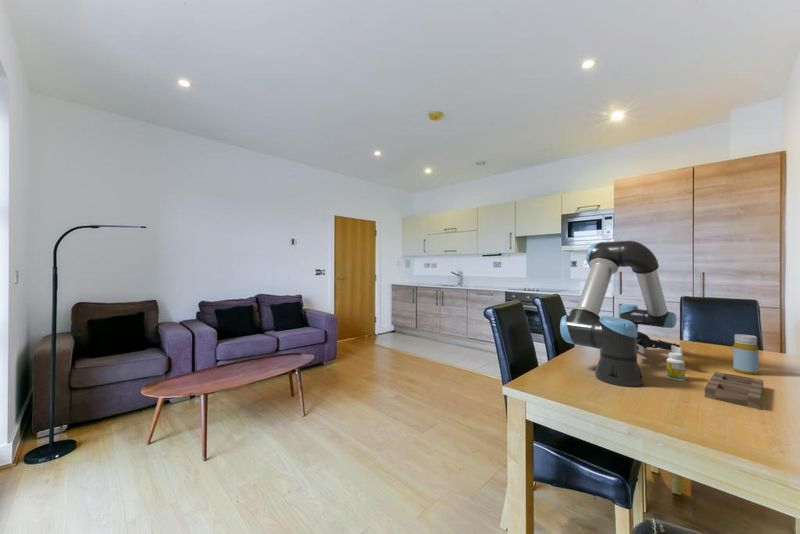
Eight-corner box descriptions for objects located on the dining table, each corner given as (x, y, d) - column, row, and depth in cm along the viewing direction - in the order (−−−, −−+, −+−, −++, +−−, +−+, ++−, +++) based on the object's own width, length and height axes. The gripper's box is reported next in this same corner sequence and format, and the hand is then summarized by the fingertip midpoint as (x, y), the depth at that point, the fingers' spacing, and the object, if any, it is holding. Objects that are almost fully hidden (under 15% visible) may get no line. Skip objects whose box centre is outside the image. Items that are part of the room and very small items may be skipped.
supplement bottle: (685, 382, 118) (685, 356, 118) (666, 378, 121) (666, 354, 121) (684, 378, 122) (684, 353, 122) (666, 375, 125) (666, 351, 125)
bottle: (746, 369, 132) (746, 334, 132) (764, 375, 125) (763, 337, 125) (728, 369, 132) (728, 333, 133) (744, 374, 126) (744, 337, 126)
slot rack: (759, 409, 95) (759, 399, 95) (704, 397, 104) (704, 387, 104) (763, 388, 111) (763, 380, 111) (715, 379, 120) (715, 371, 120)
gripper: (668, 348, 149) (698, 362, 128) (608, 346, 155) (627, 358, 134) (668, 332, 149) (697, 343, 128) (608, 330, 155) (627, 340, 134)
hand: (662, 351), depth 131 cm, fingers open, 13 cm apart
